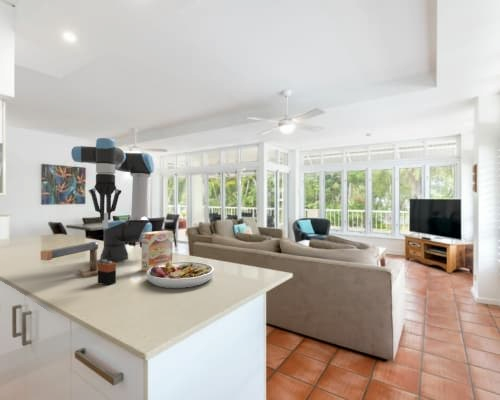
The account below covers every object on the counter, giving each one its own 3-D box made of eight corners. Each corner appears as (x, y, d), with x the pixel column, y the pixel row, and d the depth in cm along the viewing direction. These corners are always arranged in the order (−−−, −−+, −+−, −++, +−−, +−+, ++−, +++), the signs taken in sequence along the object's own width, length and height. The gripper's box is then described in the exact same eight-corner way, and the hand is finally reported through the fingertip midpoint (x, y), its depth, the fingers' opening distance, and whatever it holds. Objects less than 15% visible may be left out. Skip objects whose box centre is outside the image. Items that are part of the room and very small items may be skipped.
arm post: (101, 269, 143) (101, 246, 143) (107, 273, 136) (107, 249, 136) (79, 273, 136) (79, 249, 136) (84, 277, 129) (84, 252, 129)
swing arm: (99, 248, 138) (100, 241, 137) (47, 260, 112) (47, 251, 112) (93, 248, 139) (93, 241, 139) (40, 259, 113) (40, 251, 113)
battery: (106, 280, 126) (106, 258, 125) (116, 282, 123) (116, 260, 122) (97, 283, 122) (97, 260, 122) (107, 285, 119) (107, 262, 119)
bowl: (191, 268, 150) (191, 253, 150) (226, 280, 129) (226, 264, 129) (135, 279, 129) (136, 262, 129) (167, 296, 108) (167, 276, 108)
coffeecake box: (148, 272, 140) (148, 233, 140) (140, 269, 144) (141, 232, 144) (173, 266, 152) (173, 231, 152) (165, 264, 156) (165, 230, 156)
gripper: (118, 175, 128) (118, 226, 129) (86, 173, 119) (86, 227, 120) (124, 174, 123) (123, 227, 123) (91, 172, 114) (90, 229, 114)
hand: (105, 227), depth 121 cm, fingers closed
